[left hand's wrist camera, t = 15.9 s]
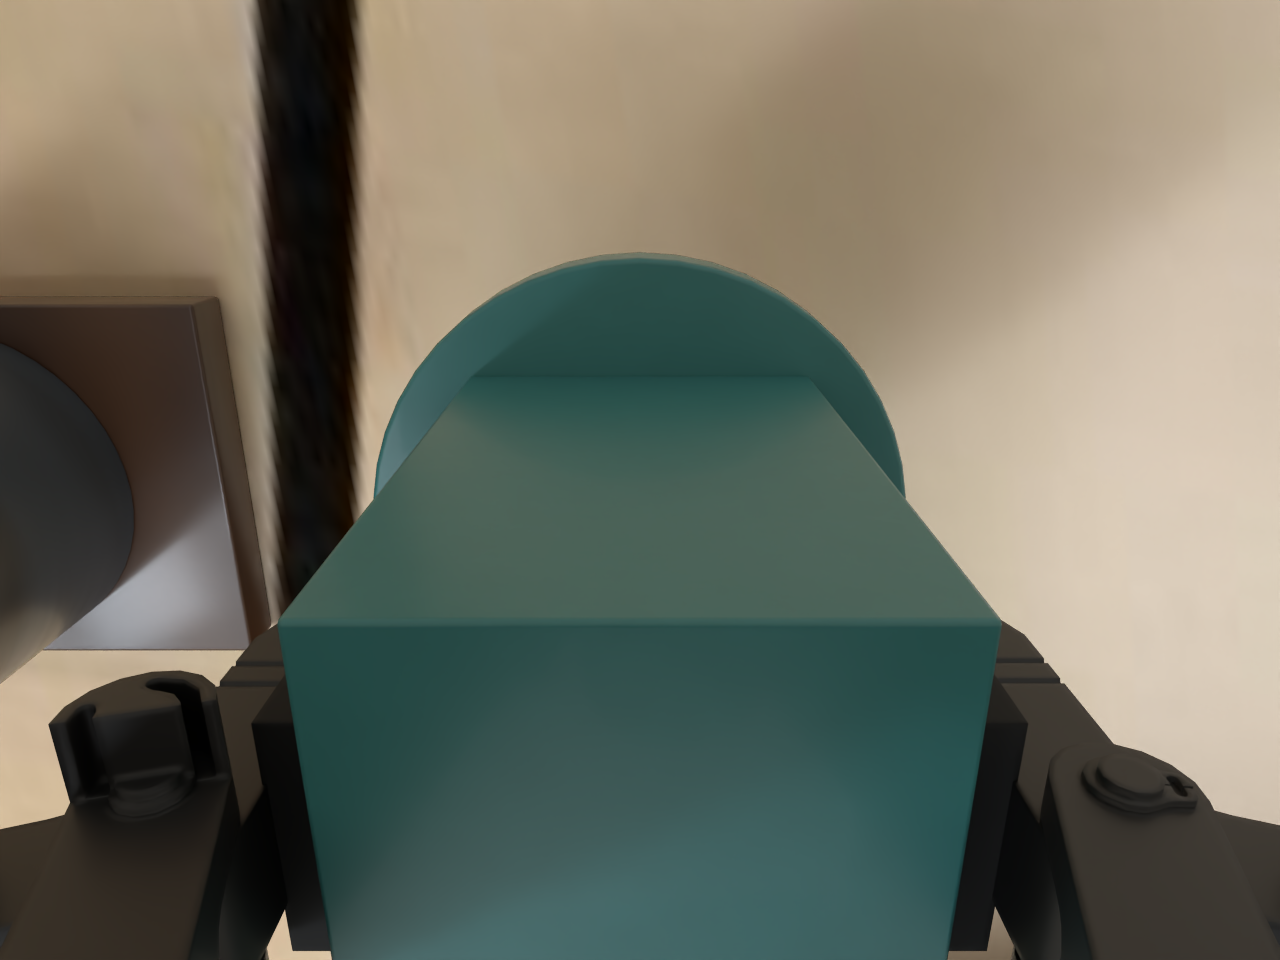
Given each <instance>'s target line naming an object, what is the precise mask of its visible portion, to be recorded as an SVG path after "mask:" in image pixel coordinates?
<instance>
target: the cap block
mask: <svg viewBox="0 0 1280 960" xmlns="http://www.w3.org/2000/svg"><path fill="white" fill-rule="evenodd" d="M277 626H278V633H279V639H280V645H281V651H282V657H283V663H284V669H285V675H286V681H287V688H288V694H289V700H290V706H291V712H292V718H293V724H294V730H295V736H296V742H297V749H298V755H299V761H300V767H301V773H302V779H303V785H304V791H305V797H306V803H307V810H308V816H309V822H310V828H311V834H312V840H313V846H314V852H315V858H316V865H317V871H318V877H319V883H320V889H321V895H322V901H323V907H324V913H325V919H326V926H327V932H328V938H329V944H330V950H331V956H332V960H947V958H948V952H949V946H950V940H951V934H952V928H953V922H954V915H955V909H956V903H957V897H958V891H959V885H960V879H961V873H962V866H963V860H964V854H965V848H966V842H967V836H968V830H969V823H970V817H971V811H972V805H973V799H974V793H975V787H976V781H977V774H978V768H979V762H980V756H981V750H982V744H983V738H984V731H985V725H986V719H987V713H988V707H989V701H990V695H991V688H992V682H993V676H994V670H995V664H996V658H997V652H998V646H999V639H1000V633H1001V627H1002V623H1001V620H1000V618H999V617H998V615H997V614H996V613H995V612H994V610H993V609H992V608H991V607H990V605H989V604H988V603H987V601H986V600H985V599H984V598H983V596H982V595H981V594H980V593H979V591H978V590H977V589H976V588H975V586H974V585H973V584H972V583H971V581H970V580H969V579H968V577H967V576H966V575H965V574H964V572H963V571H962V570H961V569H960V567H959V566H958V565H957V564H956V562H955V561H954V560H953V559H952V557H951V556H950V555H949V553H948V552H947V551H946V550H945V548H944V547H943V546H942V545H941V543H940V542H939V541H938V540H937V538H936V537H935V536H934V535H933V533H932V532H931V531H930V529H929V528H928V527H927V526H926V524H925V523H924V522H923V521H922V519H921V518H920V517H919V516H918V514H917V513H916V512H915V511H914V509H913V508H912V507H911V505H910V504H909V503H908V502H907V500H906V496H905V486H904V476H903V466H902V461H901V457H900V453H899V449H898V445H897V441H896V437H895V433H894V430H893V428H892V425H891V423H890V420H889V418H888V416H887V413H886V411H885V408H884V406H883V403H882V401H881V399H880V397H879V396H878V394H877V392H876V391H875V389H874V387H873V386H872V384H871V382H870V381H869V379H868V377H867V375H866V374H865V372H864V371H863V369H862V368H861V367H860V366H859V364H858V363H857V362H856V361H855V359H854V358H853V357H852V356H851V354H850V353H849V352H848V351H847V349H846V348H845V347H844V346H843V344H842V343H841V342H840V341H839V340H838V339H836V338H835V337H834V336H833V335H832V334H831V333H830V332H829V331H828V330H827V329H826V328H825V327H824V326H823V325H822V324H820V323H819V322H818V321H817V320H816V319H815V318H814V317H813V316H812V315H811V314H809V313H808V312H807V311H806V310H805V309H803V308H802V307H800V306H799V305H798V304H796V303H795V302H793V301H792V300H790V299H789V298H788V297H786V296H785V295H783V294H782V293H780V292H779V291H778V290H776V289H774V288H772V287H770V286H768V285H766V284H764V283H762V282H760V281H758V280H756V279H754V278H752V277H750V276H749V275H747V274H744V273H741V272H738V271H736V270H733V269H730V268H727V267H724V266H721V265H719V264H716V263H713V262H709V261H704V260H699V259H694V258H689V257H684V256H679V255H672V254H657V253H642V252H637V253H623V254H608V255H600V256H595V257H590V258H585V259H580V260H575V261H571V262H566V263H564V264H561V265H558V266H555V267H552V268H549V269H547V270H544V271H541V272H538V273H535V274H533V275H531V276H529V277H527V278H525V279H523V280H521V281H519V282H517V283H515V284H513V285H511V286H509V287H507V288H505V289H504V290H502V291H500V292H499V293H497V294H496V295H495V296H493V297H492V298H490V299H489V300H487V301H486V302H485V303H483V304H482V305H480V306H479V307H477V308H476V309H475V310H473V311H472V312H471V313H470V314H469V315H468V316H466V317H465V318H464V319H463V320H462V321H461V322H460V323H459V324H458V325H457V326H456V327H455V328H453V329H452V330H451V331H450V332H449V333H448V334H447V335H446V336H445V337H444V338H443V339H442V340H441V341H440V342H439V343H437V345H436V346H435V347H434V348H433V350H432V351H431V352H430V353H429V355H428V356H427V357H426V358H425V360H424V361H423V362H422V363H421V365H420V366H419V367H418V368H417V370H416V371H415V373H414V374H413V376H412V378H411V379H410V381H409V383H408V384H407V386H406V388H405V389H404V391H403V393H402V395H401V396H400V398H399V400H398V402H397V404H396V406H395V409H394V411H393V414H392V416H391V419H390V421H389V424H388V426H387V428H386V431H385V434H384V438H383V442H382V446H381V450H380V454H379V458H378V462H377V468H376V478H375V488H374V500H373V501H372V502H371V503H370V505H369V506H368V507H367V508H366V510H365V511H364V512H363V513H362V515H361V516H360V517H359V519H358V520H357V521H356V522H355V524H354V525H353V526H352V527H351V529H350V530H349V531H348V532H347V534H346V535H345V536H344V537H343V539H342V540H341V541H340V543H339V544H338V545H337V546H336V548H335V549H334V550H333V551H332V553H331V554H330V555H329V556H328V558H327V559H326V560H325V562H324V563H323V564H322V565H321V567H320V568H319V569H318V570H317V572H316V573H315V574H314V575H313V577H312V578H311V579H310V580H309V582H308V583H307V584H306V586H305V587H304V588H303V589H302V591H301V592H300V593H299V594H298V596H297V597H296V598H295V599H294V601H293V602H292V603H291V604H290V606H289V607H288V608H287V610H286V611H285V612H284V613H283V615H282V616H281V617H280V618H279V620H278V624H277Z"/></svg>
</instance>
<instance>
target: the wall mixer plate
mask: <svg viewBox="0 0 1280 960" xmlns="http://www.w3.org/2000/svg"><path fill="white" fill-rule="evenodd" d="M270 626H271V621H270V615H269V608H268V602H267V596H266V590H265V584H264V578H263V572H262V565H261V559H260V553H259V547H258V541H257V535H256V529H255V522H254V516H253V510H252V504H251V498H250V492H249V485H248V479H247V473H246V467H245V461H244V455H243V449H242V442H241V436H240V430H239V424H238V418H237V412H236V406H235V399H234V393H233V387H232V381H231V375H230V369H229V362H228V356H227V350H226V344H225V338H224V332H223V326H222V319H221V313H220V307H219V301H218V298H216V297H0V684H1V683H2V682H3V681H4V680H6V679H7V678H8V677H9V676H11V675H12V674H13V673H14V672H16V671H17V670H18V669H19V668H21V667H22V666H23V665H24V664H26V663H27V662H28V661H29V660H31V659H32V658H33V657H34V656H36V655H37V654H38V653H39V652H40V651H42V650H246V649H247V647H248V646H249V645H250V644H251V642H252V641H253V640H254V639H255V638H256V637H257V636H259V635H260V634H262V633H264V632H265V631H267V630H268V629H269V628H270Z"/></svg>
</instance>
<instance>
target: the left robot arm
mask: <svg viewBox="0 0 1280 960" xmlns="http://www.w3.org/2000/svg"><path fill="white" fill-rule="evenodd" d="M1001 623H1002V627H1001V633H1000V639H999V646H998V652H997V658H996V664H995V670H994V676H993V682H992V688H991V695H990V701H989V707H988V713H987V719H986V725H985V731H984V738H983V744H982V750H981V756H980V762H979V768H978V774H977V781H976V787H975V793H974V799H973V805H972V811H971V817H970V823H969V830H968V836H967V842H966V848H965V854H964V860H963V866H962V873H961V879H960V885H959V891H958V897H957V903H956V909H955V915H954V922H953V928H952V934H951V940H950V946H949V951H987V947H988V941H989V936H990V930H991V925H992V919H993V914H994V909H995V907H996V909H997V911H998V913H999V915H1000V917H1001V919H1002V921H1003V924H1004V926H1005V928H1006V930H1007V932H1008V934H1009V936H1010V938H1011V940H1012V942H1013V945H1014V947H1013V952H1012V957H1011V960H1280V825H1275V824H1270V823H1266V822H1261V821H1256V820H1251V819H1246V818H1242V817H1237V816H1232V815H1229V814H1225V813H1221V812H1218V811H1214V809H1213V807H1212V805H1211V803H1210V801H1209V800H1208V798H1207V797H1206V796H1205V795H1204V793H1203V792H1202V791H1201V789H1200V788H1199V787H1198V786H1197V784H1196V783H1195V782H1194V781H1193V780H1191V779H1190V778H1188V777H1187V776H1186V775H1184V774H1183V773H1182V772H1180V771H1179V770H1177V769H1176V768H1175V767H1173V766H1172V765H1170V764H1168V763H1166V762H1164V761H1162V760H1159V759H1157V758H1155V757H1153V756H1151V755H1148V754H1146V753H1144V752H1142V751H1138V750H1134V749H1130V748H1126V747H1122V746H1119V745H1115V744H1113V743H1112V741H1111V740H1110V739H1109V738H1108V737H1107V735H1106V734H1105V733H1104V732H1103V730H1102V729H1101V728H1100V727H1099V725H1098V724H1097V723H1096V722H1095V721H1094V719H1093V718H1092V717H1091V716H1090V714H1089V713H1088V712H1087V711H1086V710H1085V708H1084V707H1083V706H1082V705H1081V703H1080V702H1079V701H1078V700H1077V698H1076V697H1075V696H1074V695H1073V694H1072V692H1071V691H1070V690H1069V689H1068V687H1067V686H1066V685H1065V684H1061V683H1060V678H1059V676H1058V675H1057V674H1056V673H1055V672H1054V670H1053V669H1052V668H1051V667H1050V665H1049V664H1048V663H1044V658H1043V657H1042V656H1041V654H1040V653H1039V652H1038V651H1037V649H1036V648H1035V647H1034V646H1033V645H1032V643H1031V642H1030V641H1029V640H1028V638H1027V637H1026V636H1025V635H1024V634H1023V633H1021V632H1019V631H1018V630H1016V629H1015V628H1013V627H1011V626H1010V625H1008V624H1007V623H1005V622H1003V621H1002V620H1001ZM48 725H49V728H50V732H51V736H52V739H53V743H54V746H55V750H56V754H57V757H58V761H59V764H60V768H61V771H62V775H63V779H64V782H65V786H66V789H67V793H68V796H69V800H70V804H69V806H68V808H67V811H66V813H65V815H62V816H58V817H55V818H51V819H47V820H43V821H38V822H33V823H28V824H24V825H19V826H14V827H9V828H4V829H0V960H269V957H268V952H267V946H268V944H269V942H270V939H271V937H272V935H273V933H274V931H275V929H276V927H277V925H278V923H279V921H280V918H281V916H282V914H283V912H284V910H285V912H286V917H287V923H288V928H289V934H290V939H291V945H292V950H293V951H331V950H330V944H329V938H328V932H327V926H326V919H325V913H324V907H323V901H322V895H321V889H320V883H319V877H318V871H317V865H316V858H315V852H314V846H313V840H312V834H311V828H310V822H309V816H308V810H307V803H306V797H305V791H304V785H303V779H302V773H301V767H300V761H299V755H298V749H297V742H296V736H295V730H294V724H293V718H292V712H291V706H290V700H289V694H288V688H287V681H286V675H285V669H284V663H283V657H282V651H281V645H280V639H279V633H278V626H277V624H276V625H275V626H273V627H272V628H270V629H268V630H267V631H265V632H264V633H262V634H260V635H259V636H257V637H256V638H255V639H254V640H253V641H252V642H251V644H250V645H249V646H248V647H247V649H246V650H245V651H244V652H243V654H242V655H241V656H240V657H239V659H238V660H237V661H236V666H232V667H231V668H230V670H229V671H228V672H227V673H226V675H225V676H224V677H223V678H222V680H221V681H220V686H219V687H215V685H214V684H213V683H211V682H210V681H209V680H208V679H206V678H205V677H204V676H203V675H199V674H194V673H189V672H185V671H160V672H149V673H144V674H140V675H136V676H131V677H127V678H122V679H119V680H116V681H114V682H111V683H109V684H106V685H104V686H101V687H99V688H96V689H94V690H91V691H89V692H88V693H86V694H84V695H83V696H81V697H80V698H78V699H76V700H75V701H73V702H72V703H70V704H68V705H67V706H65V707H64V708H63V709H62V710H61V711H60V712H59V714H58V715H57V716H56V717H55V718H54V719H53V720H52V721H51V722H50V723H49V724H48Z"/></svg>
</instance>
